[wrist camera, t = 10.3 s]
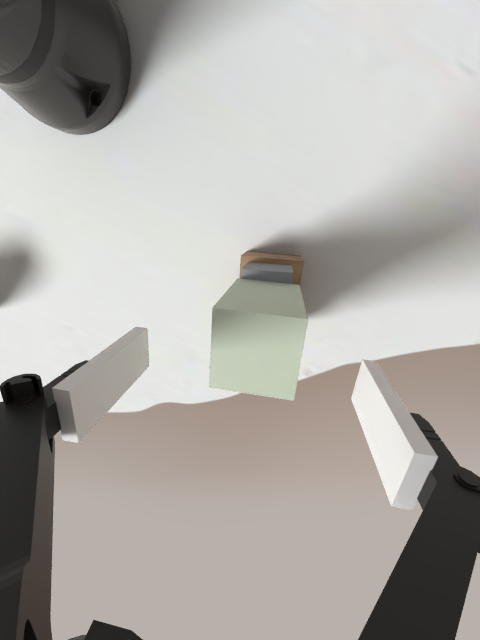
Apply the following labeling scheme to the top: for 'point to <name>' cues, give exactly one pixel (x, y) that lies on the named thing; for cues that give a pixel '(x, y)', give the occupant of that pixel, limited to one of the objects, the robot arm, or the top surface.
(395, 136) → the top surface
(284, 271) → the tower top
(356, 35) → the top surface
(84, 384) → the robot arm
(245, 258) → the tower base
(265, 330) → the sage block
